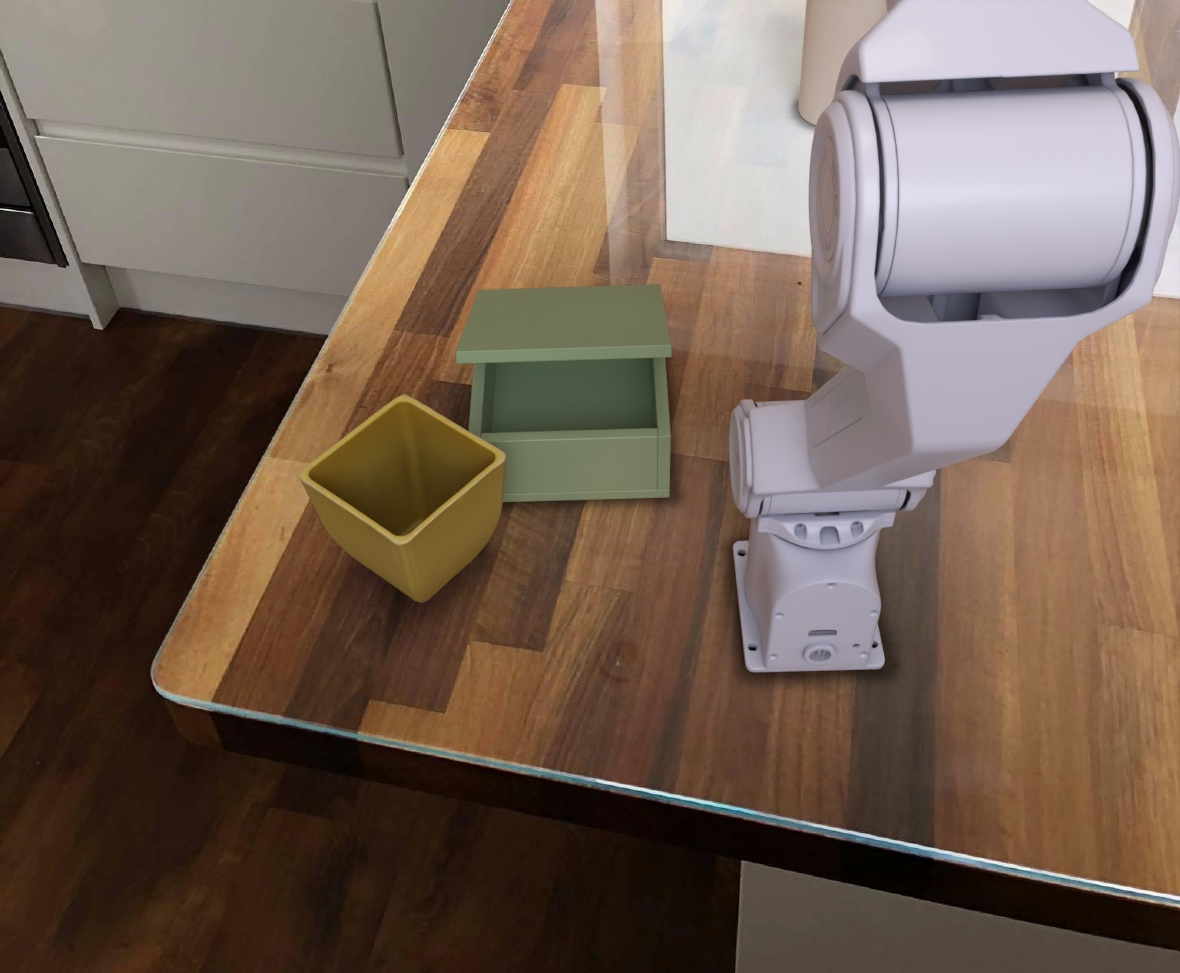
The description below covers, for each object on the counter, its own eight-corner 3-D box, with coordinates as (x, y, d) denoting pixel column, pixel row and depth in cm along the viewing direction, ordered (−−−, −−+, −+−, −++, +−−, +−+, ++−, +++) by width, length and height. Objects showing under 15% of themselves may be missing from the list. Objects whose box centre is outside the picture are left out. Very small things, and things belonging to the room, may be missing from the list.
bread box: (669, 497, 80) (670, 436, 75) (476, 503, 80) (467, 442, 76) (660, 356, 89) (660, 294, 84) (487, 362, 89) (478, 300, 85)
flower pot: (423, 487, 81) (402, 389, 74) (521, 550, 77) (509, 453, 71) (324, 570, 77) (293, 474, 70) (424, 641, 73) (401, 547, 66)
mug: (857, 138, 106) (876, 6, 98) (784, 121, 109) (796, -9, 100) (892, 82, 112) (913, -47, 103) (822, 67, 114) (837, -61, 106)
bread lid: (672, 357, 71) (671, 344, 71) (456, 364, 71) (454, 351, 71) (660, 295, 84) (660, 283, 84) (478, 301, 85) (477, 289, 84)
